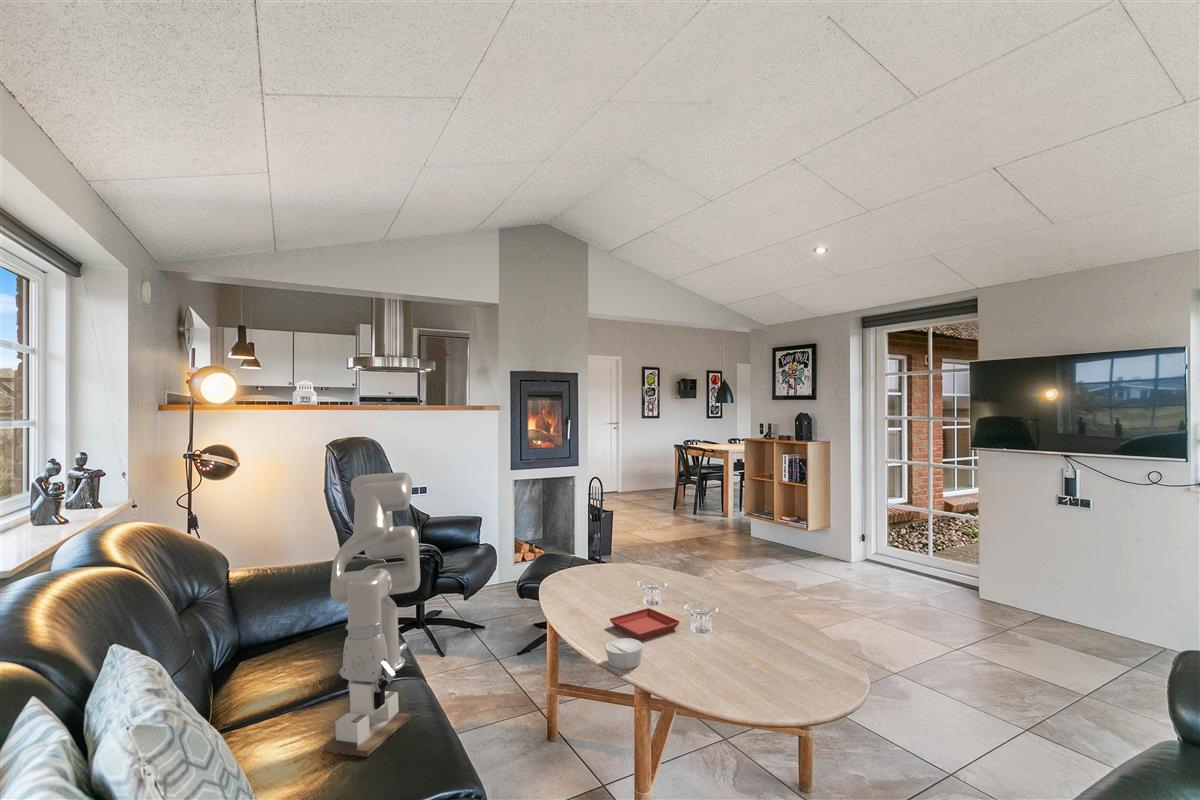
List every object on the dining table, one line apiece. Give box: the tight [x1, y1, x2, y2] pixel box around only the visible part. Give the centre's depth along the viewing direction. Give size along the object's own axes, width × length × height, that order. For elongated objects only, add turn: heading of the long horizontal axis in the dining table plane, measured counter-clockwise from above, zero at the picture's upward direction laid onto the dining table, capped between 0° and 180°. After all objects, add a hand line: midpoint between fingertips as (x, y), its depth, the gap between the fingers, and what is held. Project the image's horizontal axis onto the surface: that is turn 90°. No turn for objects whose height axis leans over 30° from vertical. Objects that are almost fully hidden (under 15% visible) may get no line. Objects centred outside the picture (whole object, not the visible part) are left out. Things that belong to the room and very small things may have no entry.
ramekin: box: [604, 637, 644, 670], centre depth 171 cm, size 11×11×5 cm
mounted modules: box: [334, 690, 400, 746], centre depth 138 cm, size 15×6×5 cm, turn 164°
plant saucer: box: [609, 608, 681, 641], centre depth 197 cm, size 18×18×3 cm
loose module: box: [348, 679, 385, 716], centre depth 138 cm, size 5×6×7 cm
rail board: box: [323, 711, 411, 756], centre depth 138 cm, size 16×12×3 cm
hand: (367, 704), depth 138 cm, fingers closed on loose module, 6 cm apart
